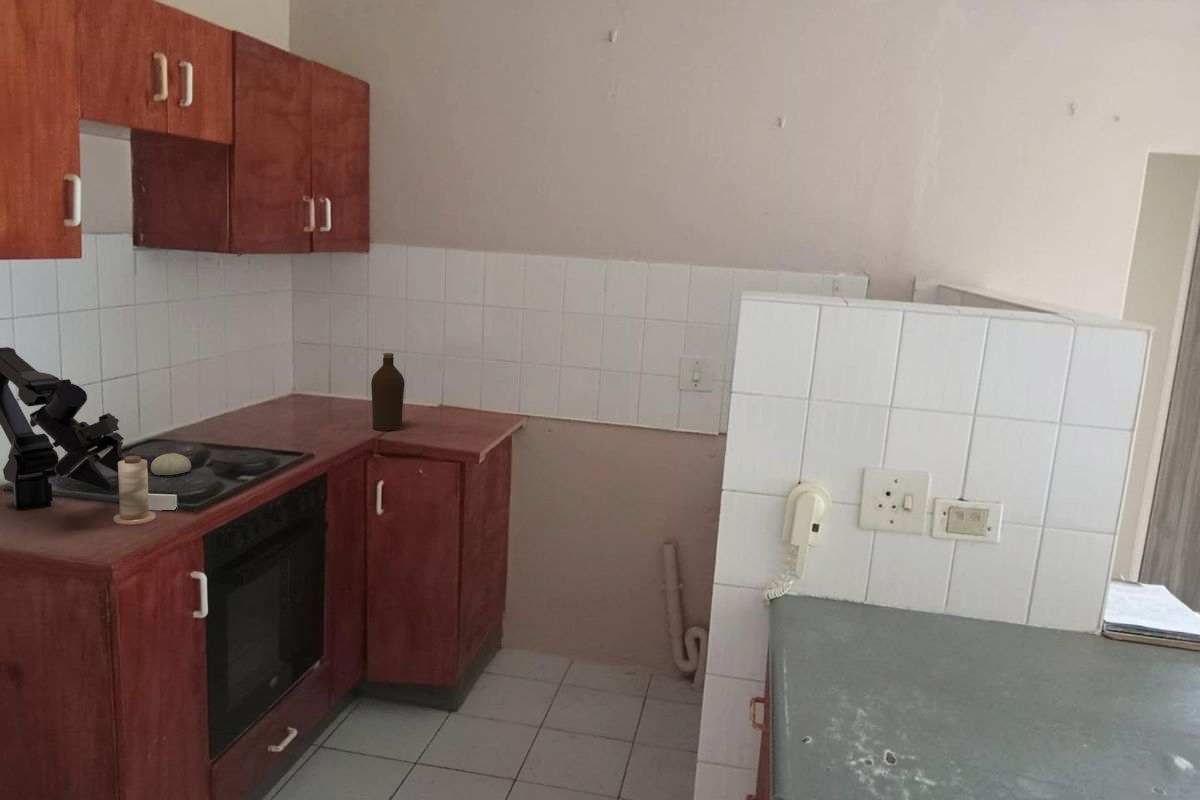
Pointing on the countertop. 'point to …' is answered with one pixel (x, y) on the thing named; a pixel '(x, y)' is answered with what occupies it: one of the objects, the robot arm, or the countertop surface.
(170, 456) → the sea urchin shell
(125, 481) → the thread spool
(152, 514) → the coaster
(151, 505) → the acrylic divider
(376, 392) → the olive oil
